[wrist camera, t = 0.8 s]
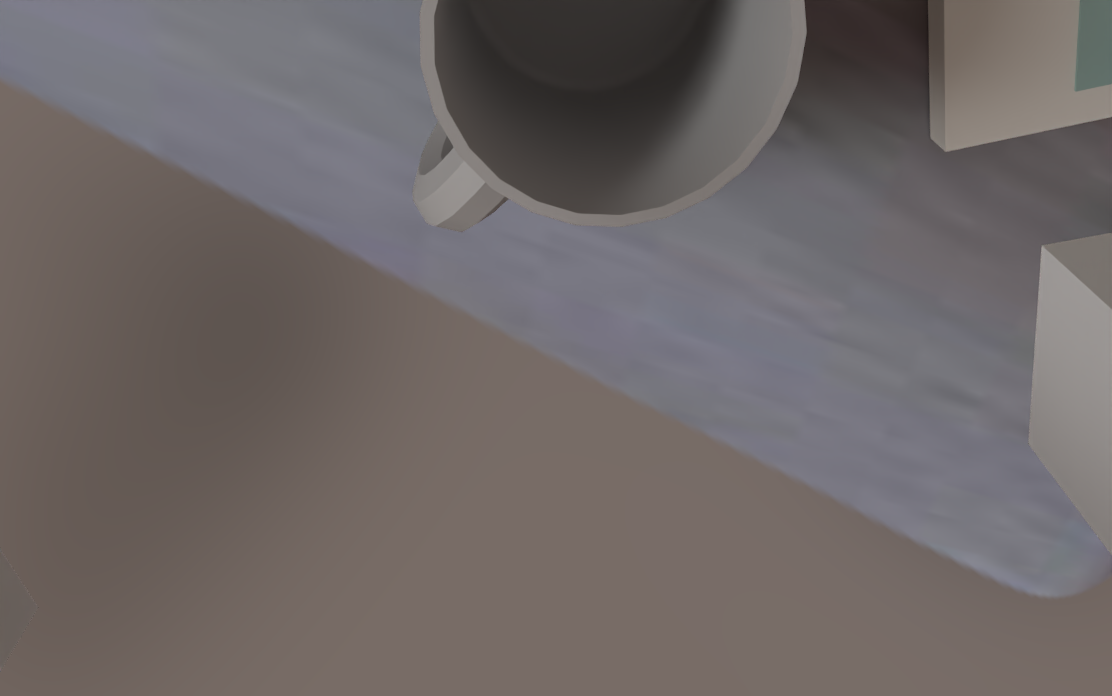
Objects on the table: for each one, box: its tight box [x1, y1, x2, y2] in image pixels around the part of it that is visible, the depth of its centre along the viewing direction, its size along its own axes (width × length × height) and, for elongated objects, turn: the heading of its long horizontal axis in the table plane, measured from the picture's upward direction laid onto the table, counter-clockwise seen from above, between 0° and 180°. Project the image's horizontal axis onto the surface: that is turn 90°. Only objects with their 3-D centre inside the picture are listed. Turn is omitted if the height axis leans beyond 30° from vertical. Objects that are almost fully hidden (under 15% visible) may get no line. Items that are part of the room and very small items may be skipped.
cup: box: [412, 0, 807, 232], centre depth 22 cm, size 7×10×9 cm
